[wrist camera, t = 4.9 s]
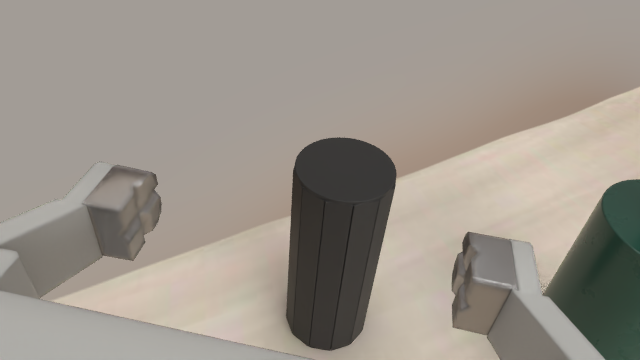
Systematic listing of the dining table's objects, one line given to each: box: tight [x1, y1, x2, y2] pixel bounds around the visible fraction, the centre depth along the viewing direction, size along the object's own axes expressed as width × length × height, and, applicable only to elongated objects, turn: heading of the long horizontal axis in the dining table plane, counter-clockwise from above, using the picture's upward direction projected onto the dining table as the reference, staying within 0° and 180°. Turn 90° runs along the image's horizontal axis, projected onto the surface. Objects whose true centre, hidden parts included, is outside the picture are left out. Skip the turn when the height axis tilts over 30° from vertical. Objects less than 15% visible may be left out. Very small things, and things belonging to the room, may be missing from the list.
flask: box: [542, 179, 640, 360], centre depth 29 cm, size 8×8×18 cm
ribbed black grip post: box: [286, 138, 396, 350], centre depth 32 cm, size 6×6×14 cm
